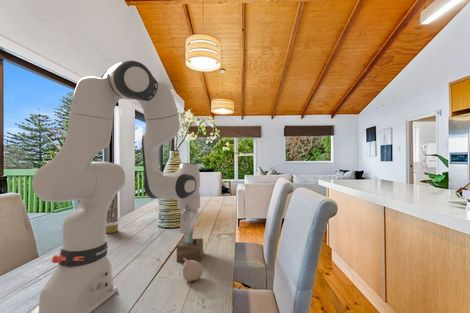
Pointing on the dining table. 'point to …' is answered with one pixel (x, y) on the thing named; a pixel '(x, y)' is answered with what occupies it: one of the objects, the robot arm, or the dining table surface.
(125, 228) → the dining table surface
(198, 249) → the socket block
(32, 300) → the dining table surface
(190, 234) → the peg
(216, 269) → the dining table surface
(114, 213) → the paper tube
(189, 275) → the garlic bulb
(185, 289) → the dining table surface
